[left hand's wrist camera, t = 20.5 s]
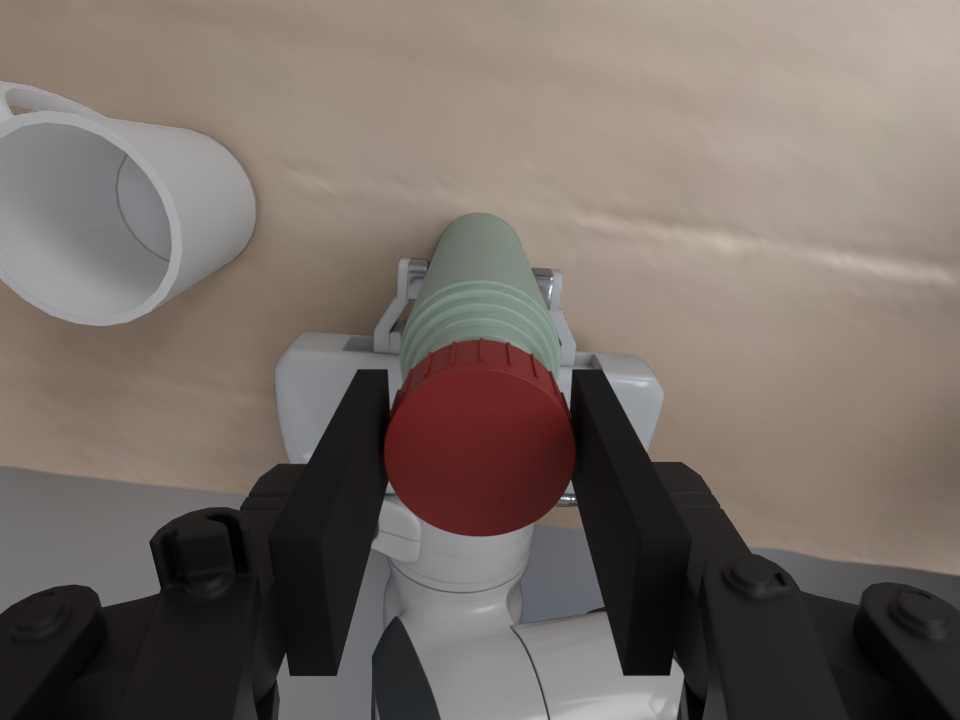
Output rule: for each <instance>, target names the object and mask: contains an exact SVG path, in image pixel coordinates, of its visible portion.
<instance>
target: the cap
mask: <svg viewBox="0 0 960 720" xmlns="http://www.w3.org/2000/svg"><path fill="white" fill-rule="evenodd" d="M389 418H390V421H389V424H388V427H387V430H386V434H385V437H384V450H383V453H384V464H385V469H386V473H387V476H388V479H389V482H390V484H391V486H392V488H393V489H394V491H395V493H396V495H397V496H398V497H399V499H400V500H401V501H402V503H403V504H404V505H405V506H406V507H407V508H408V509H409V510H410V511H411V512H412V513H414V514H415V515H416V516H417V517H418V518H420V519H422V520H423V521H425V522H426V523H428V524H430V525H432V526H434V527H436V528H438V529H441V530H444V531H446V532H449V533H453V534H458V535H463V536H472V537H488V536H497V535H502V534H507V533H510V532H513V531H516V530H519V529H521V528H524V527H526V526H528V525H530V524H532V523H533V522H535V521H537V520H538V519H540V518H541V517H542V516H544V515H545V514H546V513H548V512H549V511H550V510H551V509H552V508H553V507H554V506H555V505H556V504H557V502H558V501H559V500H560V498H561V497H562V496H563V494H564V493H565V491H566V489H567V487H568V485H569V483H570V481H571V478H572V476H573V472H574V468H575V464H576V440H575V437H574V432H573V429H572V426H571V422H570V421H571V420H572V417H571V414H570V411H569V408H568V405H567V402H566V399H565V396H564V393H563V392H560V390H559V387H558V385H557V383H556V381H555V379H554V376H553V373H552V371H551V370H550V371H548V370H547V368H546V367H544V366H543V365H542V364H541V363H540V362H539V361H538V360H537V359H536V358H535V357H534V354H532V353H531V354H529V353H527V352H525V351H523V350H522V349H520V348H517V347H515V346H512V345H510V343H509V342H507V343H502V342H498V341H491V340H483V338H480V340H468V341H462V342H458V343H456V341H454V342H453V343H452V344H450V345H448V346H445V347H442V348H440V349H438V350H436V351H435V352H433V353H432V352H429V353H428V356H427V357H425V358H424V359H423V360H421V361H420V362H419V363H418V364H417V365H416V366H415V367H414V368H413V369H412V368H411V369H410V370H409V372H408V375H407V377H406V379H405V381H404V383H403V384H402V386H401V389H400V390H399V389H398V390H397V392H396V395H395V398H394V401H393V404H392V407H391V410H390V413H389Z"/></svg>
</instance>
